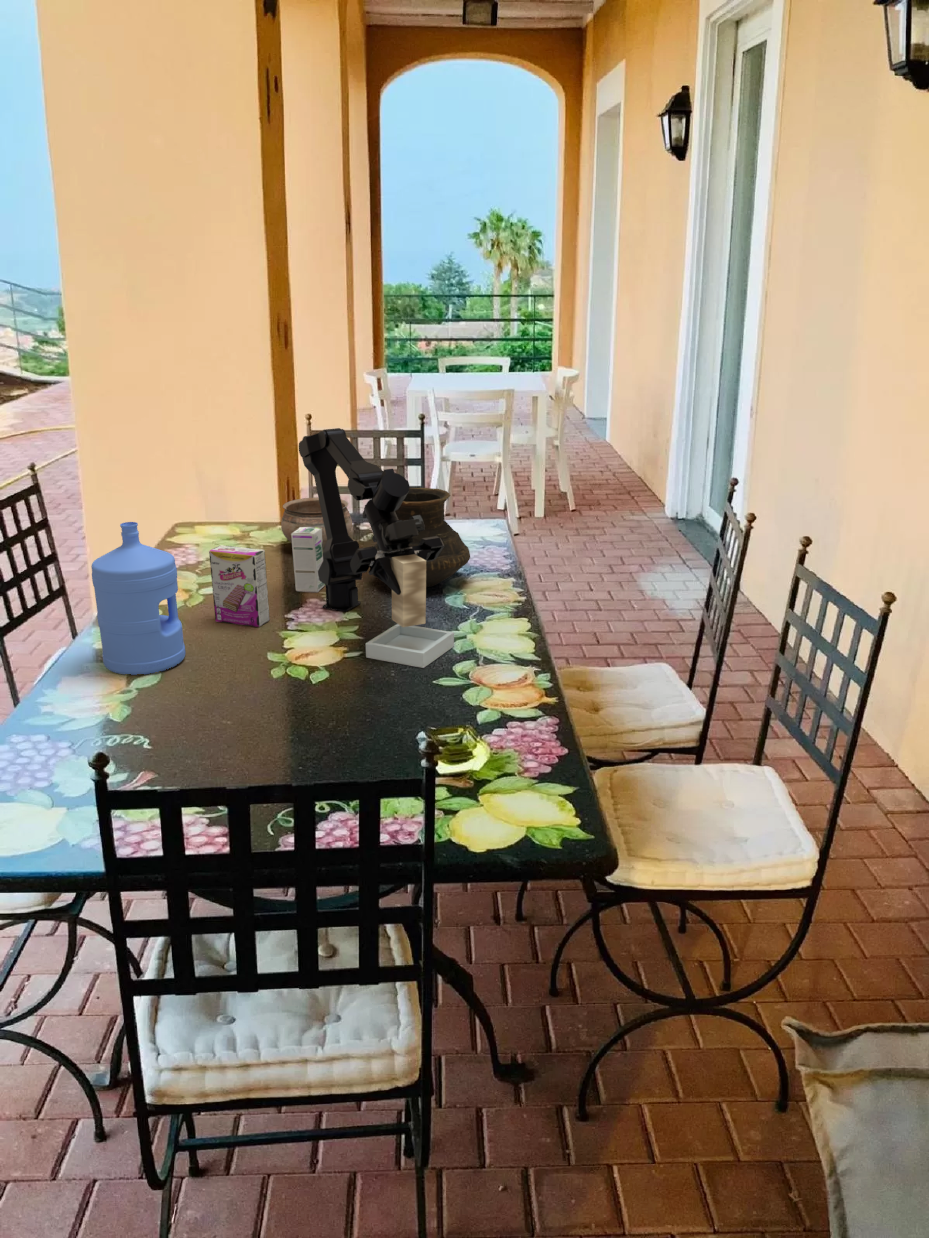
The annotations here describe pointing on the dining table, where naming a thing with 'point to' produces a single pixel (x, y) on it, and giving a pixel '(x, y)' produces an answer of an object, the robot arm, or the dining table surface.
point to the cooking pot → (308, 516)
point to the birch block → (409, 590)
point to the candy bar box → (239, 585)
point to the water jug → (137, 607)
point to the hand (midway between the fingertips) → (411, 591)
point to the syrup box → (307, 558)
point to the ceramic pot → (434, 532)
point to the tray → (410, 645)
